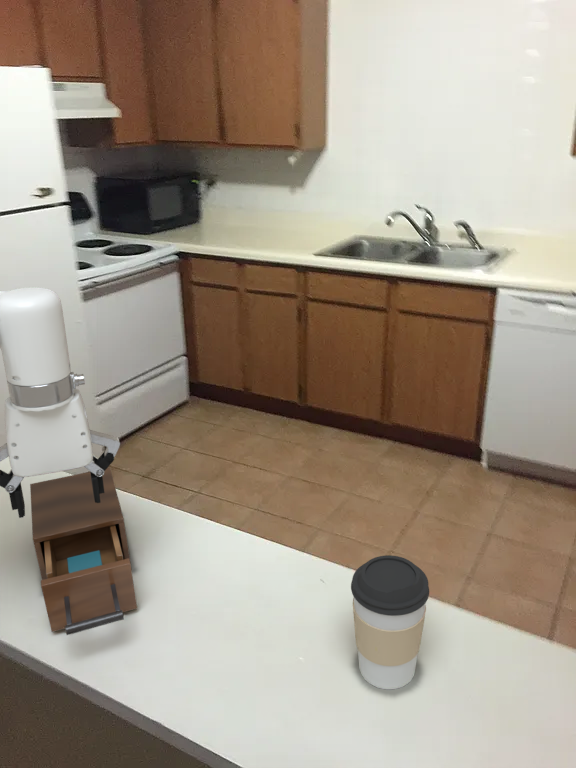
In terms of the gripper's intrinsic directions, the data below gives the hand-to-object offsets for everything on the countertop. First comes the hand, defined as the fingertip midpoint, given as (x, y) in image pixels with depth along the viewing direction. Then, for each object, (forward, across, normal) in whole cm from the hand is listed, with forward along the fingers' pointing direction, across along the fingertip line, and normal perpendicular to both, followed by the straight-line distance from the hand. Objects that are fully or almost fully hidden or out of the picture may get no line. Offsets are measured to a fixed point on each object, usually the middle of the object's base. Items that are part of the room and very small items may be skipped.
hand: (60, 504), depth 90 cm
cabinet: (+16, -2, -11) cm, 19 cm away
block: (+14, -2, +1) cm, 14 cm away
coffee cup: (+15, -35, +28) cm, 48 cm away
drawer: (+15, -2, +3) cm, 15 cm away
